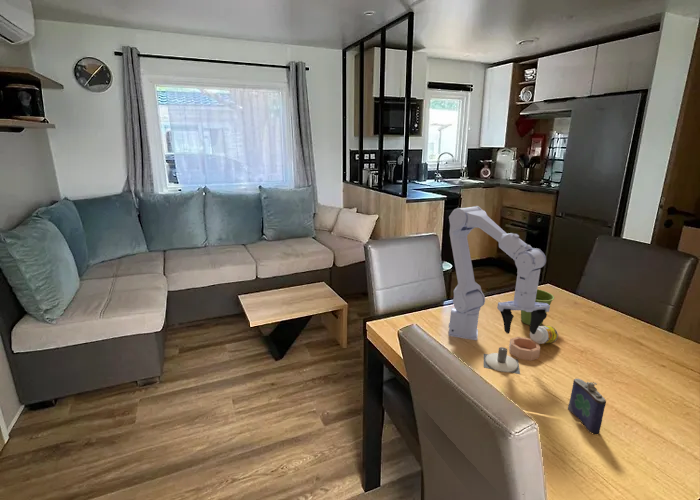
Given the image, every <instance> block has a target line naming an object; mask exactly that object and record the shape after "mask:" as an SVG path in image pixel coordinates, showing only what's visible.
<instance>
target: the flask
mask: <svg viewBox="0 0 700 500" xmlns="http://www.w3.org/2000/svg"><path fill="white" fill-rule="evenodd" d="M572 381H573V383H572V388H571V393H570V398H569V403H568V407H567V410H568V411H569V412H570V413H571V414H573V415H574V416H575V417H576V418H577V419H578V420H579V421H580V424H581V425H582V424H583V425H584V426H583V425H582V426H583V427H586V428H585V429H586V430H587V431H588V433H590V432H591V433H590V434H592V433H593V435H594V434H598V435H600V430H601V428H602V427H601V426H602V422H603V417H604V413H605V407H606V403H607V400H606V399H605V397H604V396H603V395H602V394H601V393H600V392H599V391H598V389H597V388H596V387H595V386H596V385H597V384H598V383H597V382H594V381H593V382H588V381H587V382H585V381H584V380H583V379H581V378H574V379H573V380H572Z"/></svg>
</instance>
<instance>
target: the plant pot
mask: <svg viewBox="0 0 700 500" xmlns="http://www.w3.org/2000/svg"><path fill="white" fill-rule="evenodd" d="M554 300H555V296H554V294H553V293H550V292H548V291H545V290H544V289H543V290H542V289H539V288H537V294H536V300H535V302H539V303H547V304H548V305H550V306H551V304H552V301H554ZM545 313H546V314H548V312H545ZM520 319H521V322H522V323H523V324H526V325H529V326H530V323H531V312H526V311H523V310H520ZM543 323H544V320H543V321H542V322H541V324H540V325H539V326H543Z"/></svg>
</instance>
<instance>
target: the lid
mask: <svg viewBox="0 0 700 500" xmlns="http://www.w3.org/2000/svg"><path fill="white" fill-rule="evenodd" d="M487 354H488V353H487ZM515 359H516V358H513V357H512V356H511V355H510V356H509V355H508V348H506V347H504V346H501V347H498V352H491V353H489V354H488V355H487V356H486V360H485V362H486V364H487V365H488V366H489V367H491V368H493V369H492V370H494V369H495V371H498V372H502V373H510V372H512V371H515V370H516V369H517V366H518V363H519V362H518V363H517V361H516V360H515Z"/></svg>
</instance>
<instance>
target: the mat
mask: <svg viewBox="0 0 700 500" xmlns="http://www.w3.org/2000/svg"><path fill="white" fill-rule="evenodd" d="M487 355H488V353H483V368H484V369H490V370H493V371H494V370H495V369H493V368H491V367H489V366H488V365H487V364H486V362H485V360H486V356H487ZM514 359H515V360H516V361H517V363H518V366H517V369H516V370H515V371H512V372H509V373H511V374H517V375H521V370H520V364H519V358H514ZM495 371H496V370H495Z"/></svg>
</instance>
